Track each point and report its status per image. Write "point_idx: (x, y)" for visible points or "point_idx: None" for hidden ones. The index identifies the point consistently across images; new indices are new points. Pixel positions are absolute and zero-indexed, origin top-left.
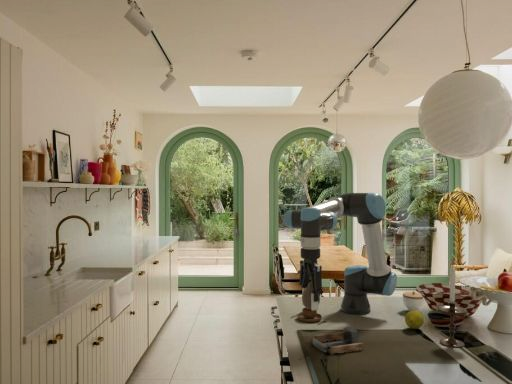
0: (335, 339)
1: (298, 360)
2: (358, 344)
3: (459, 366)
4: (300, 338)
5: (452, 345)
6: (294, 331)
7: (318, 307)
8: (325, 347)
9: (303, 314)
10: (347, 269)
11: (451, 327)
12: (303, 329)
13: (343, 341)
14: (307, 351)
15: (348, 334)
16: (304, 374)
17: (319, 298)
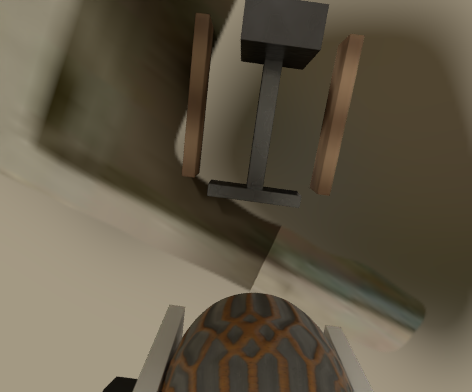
0: (207, 76)
1: (294, 297)
2: (358, 63)
3: None
4: (129, 188)
5: None
6: (50, 165)
7: (347, 341)
8: (299, 200)
9: None
10: None
11: None
12: (38, 117)
13: (271, 82)
14: (247, 235)
15: (287, 52)
16: (380, 332)
17: (340, 367)
